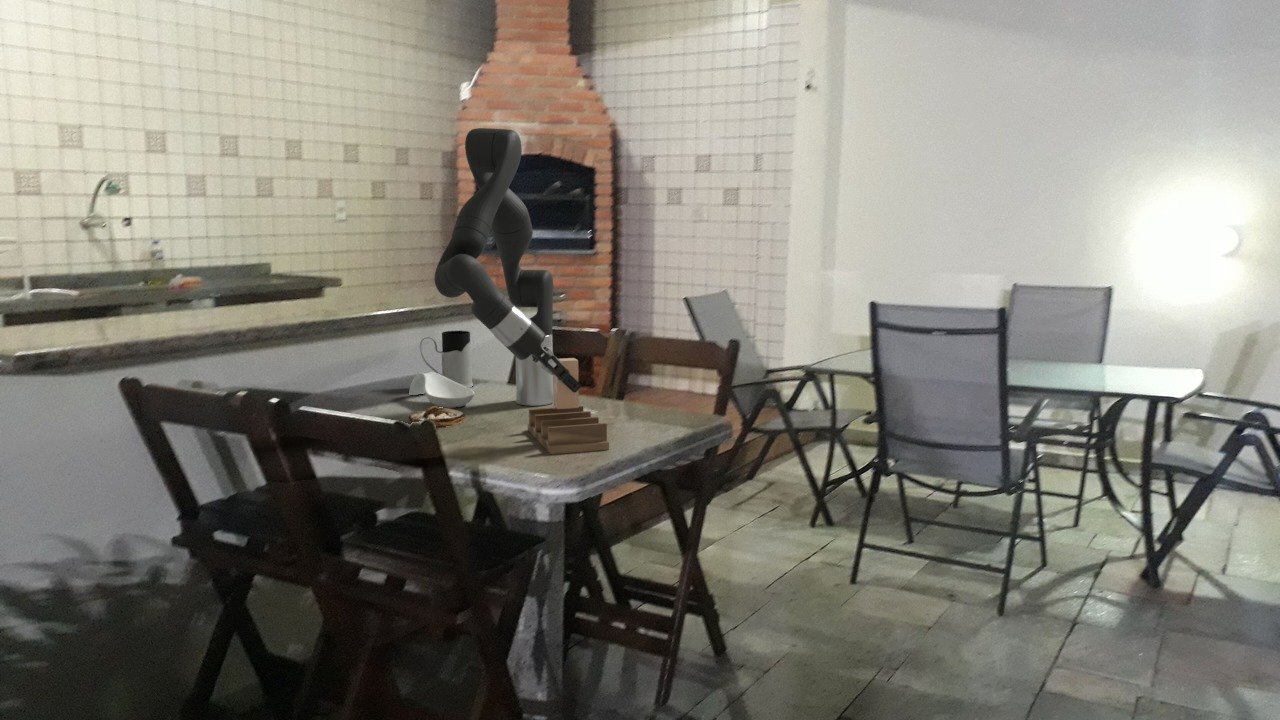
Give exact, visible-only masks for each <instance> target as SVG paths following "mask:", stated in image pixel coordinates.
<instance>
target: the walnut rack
mask: <svg viewBox="0 0 1280 720" xmlns="http://www.w3.org/2000/svg"><path fill="white" fill-rule="evenodd" d="M591 414H592V411H590V410H585V411H584V405H579V408H567V409H557V408H556V407H554V406H553V407H543V408H530V409H528V423H527V431H528V432H529V433H530V434H531V435H532V436H533V437H534V439H535V440H536V441H537V442H538V443H540V445H541V446H542V447H543V448H544V449H545V450H546V451H547V452H548V453H549V454H550V455H558V454H573V453H582V452H583V453H585V452H586V453H587V452H595V451H607V450H608V451H609V450H610V442H609V441H608V429H607V427H608V424H607V423H606V422H599V417H598V416H592V415H591Z"/></svg>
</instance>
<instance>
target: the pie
mask: <svg viewBox="0 0 1280 720" xmlns="http://www.w3.org/2000/svg"><path fill="white" fill-rule="evenodd" d="M424 419H429V420H431V421H433V422H434V423H435V425H436V427H437V428H438V427H441V428H442V427H443V428H447V427H446V426H451V427H453V426H452V425H454V426H456V424H457V425H459V424H458V423H460V424H462V423H463V421H464V420H465V419H466V415H465V413H463V412H462V411H460V410H457V409H456V408H439V407H437V406H436V405H432V406H430V407H428V408H427V409H424V410H415V411H412V412H410V413H409V415H408V421H409V424H410V423H412V422H419V421H422V420H424ZM438 429H439V428H438Z"/></svg>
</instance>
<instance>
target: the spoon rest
mask: <svg viewBox="0 0 1280 720" xmlns="http://www.w3.org/2000/svg"><path fill="white" fill-rule="evenodd" d="M440 374H441V373H440ZM440 374H438V373H436V372H435V371H428V372H420V373H419V372H418V374H416V375H415V376H414V377H413V379H412V381H411V383H410V386H409V389H408V390H409V391H408V392H409V393H408V396H409V395H418V394H424V393H426V394H425V395H426V398H427V399H428V401H429V402H430V403H431V404H433V406H438V407H443V408H450V409H457V408H456V407H458V408H461V407H464V406H466V405H467V404H468V403H470V402H471V401H472V399H474V397H475V395H476V394H475V391H474V390H473V389H471V388H467V387H465V386H463V385H461V384H459V383H456V382H454V381H452V380H450V379H448V378H446V377H444V376H443V374H441V375H440Z"/></svg>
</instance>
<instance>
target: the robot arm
mask: <svg viewBox="0 0 1280 720" xmlns="http://www.w3.org/2000/svg"><path fill="white" fill-rule="evenodd" d="M464 142H465V143H464V149H465V157H466V160H467V164H468V167H469V169H470V172H471V173H472V176H473V179H474V181H475V183H476V185H477V188H478V190H477V191H476V192H475V193H474V194H473V195H472V196H471V197H470V198H468V200H466V202H465V203H464V204H463V206H462V207H461V208H460V211H459V212H458V214H457V218H456V219H455V224H454V226H453V229H452V234H451V237H450V240H449V242H448V244H447V246H446V247H445V248H444V249H445V250H444V251H443V253H442V256H441V257H440V258H439V261H438V263H437V266H436V269H435V273H434V286H435V287H436V289H437V291H438V293H440V294H441V295H442V296H444V297H447V298H450V299H451V298H458V297H460V296H462V295H464V294H465V293H467V294H468V296H469V297H470V299H471V301H472V304H471V307H470V309H471V312H472V314H473V316H474V317H476V319H477V320H478V321H480V322H481V324H483V325H484V326H485V327H486V328H487V329H488V330H489V331H490V332H491V334H492V335H493V336H494V337H495V338H496V339H497V340H498V341H499V342H500V343H501V344H502V345H503V346H504V347H505V348H506V349H507V350H508V351H510V353H512V355H514V357H515V387H516V388H515V391H516V392H515V394H516V395H515V396H516V399H515V400H516V404H518V405H520V406H521V405H522V406H534V407H535V406H536V407H537V406H545V405H550V404H554V396H553V375H555V376H556V377H557V378H558V379H559V381H561V382H563V383H564V384H565V385H566V386H567V387H568V388H569V389H570V390H571V391H572V392H574V393H575V392H577V391H579V389H580V388H581V387H582V385H581V383H580V382H579V380H578V381H576V380H575V379H574V378H573V377H572V376H571V375H570V372H569V370H568V369H566V368H565V367H564V366H563V365H562V362H561V361H560V360H559V359H560V358H558V357H557V356H556V355H554V351H553V345H554V344H553V324H554V323H553V317H554V316H553V315H554V314H553V311H554V310H553V307H554V304H553V303H554V280H553V279H554V278H553V275H552V273H551V272H550V271H549V270H547V269H546V270H545V269H522V268H521V267H520V262H521V259H522V257H523V255H524V254H525V252H526V251H527V249H528V248H529V246H530V244H531V241H532V239H533V234H534V232H533V231H534V230H533V226H532V222H531V221H532V220H531V217H530V214H529V211H528V208H527V206H526V204H524V202H523V201H522V199H521V198H520V197H519V196H518V195H516V193H515V192H513V190H512V189H510V188H509V187H510V186H511V184H512V181H513V179H514V177H515V175H516V174H517V171H518V168H519V166H520V162H521V158H522V153H523V151H522V149H523V148H522V140H521V137H520V136H519V134H518V133H517V131H515V130H513V129H509V128H508V129H507V128H506V129H505V128H490V127H489V128H487V127H480V128H479V127H477V128H476V127H475V128H473V129H470V130H469V131H468V133H467V134H466V136H465V141H464ZM490 232H491V233H492V236H493V239H494V242H495V245H496V248H497V251H498V254H499V258H500V262H501V265H502V270H503V277H504V281H505V286H506V287H505V288H506V291H507V295H508V297H506V296H505V295H504V294H503V293H502V292H501V291H499V289H498V286H497V285H496V284H495V282H494V281H493V278H491V276H490V274H489V272H488V271H487V270H486V268H485V266H484V265H483V264H482V263H481V262H480V261H479V260H478V258H479V257H480V256H481V254H482V253H483V252H484V250H485V248H486V245H487V242H488V239H489V235H490ZM520 308H537V310H536V313H535V314H534V315H533V316H532V317H528V315H527V314H526V313H524V312H523V311H522V310H521V309H520ZM561 369H562V370H563V372H562V373H561V374H560V375H558V372H559V371H560V370H561Z"/></svg>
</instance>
